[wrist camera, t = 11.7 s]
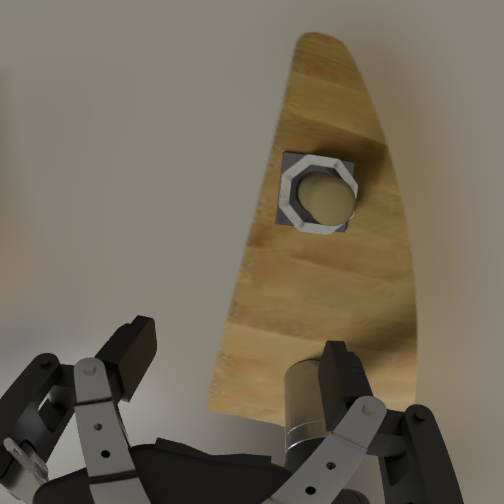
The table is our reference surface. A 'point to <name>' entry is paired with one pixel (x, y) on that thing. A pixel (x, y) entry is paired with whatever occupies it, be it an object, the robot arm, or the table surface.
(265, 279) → the table surface
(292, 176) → the duct collar
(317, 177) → the cork
